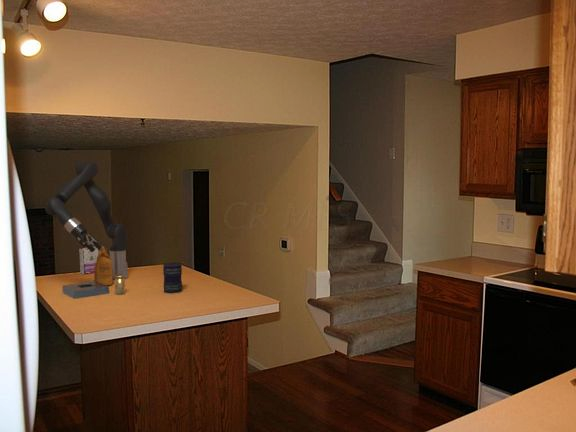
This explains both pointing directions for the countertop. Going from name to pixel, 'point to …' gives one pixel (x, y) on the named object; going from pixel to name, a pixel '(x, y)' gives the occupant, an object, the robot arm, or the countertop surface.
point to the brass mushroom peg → (119, 284)
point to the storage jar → (172, 277)
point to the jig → (85, 289)
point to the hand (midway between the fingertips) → (97, 249)
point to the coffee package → (103, 268)
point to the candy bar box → (88, 260)
